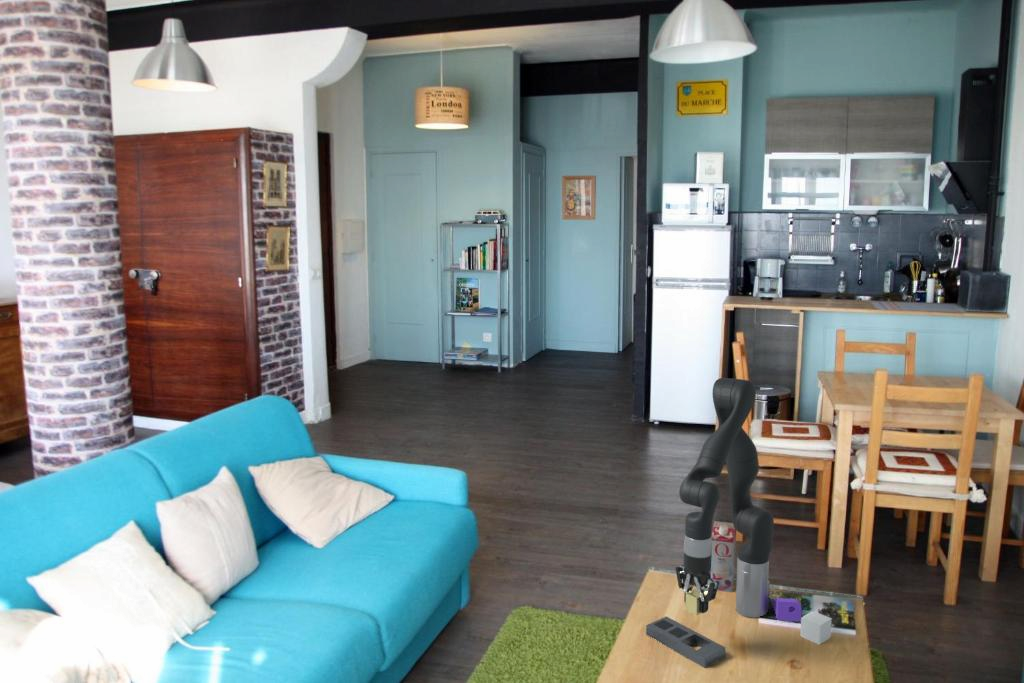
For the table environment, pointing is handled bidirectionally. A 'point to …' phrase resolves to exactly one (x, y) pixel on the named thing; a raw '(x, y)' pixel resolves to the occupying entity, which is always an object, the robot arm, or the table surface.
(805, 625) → the light grey cube
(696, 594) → the brushed gold cube
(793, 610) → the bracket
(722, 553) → the juice carton
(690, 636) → the silver slotted board
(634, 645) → the table surface
